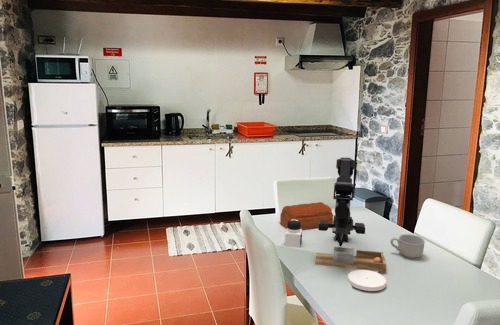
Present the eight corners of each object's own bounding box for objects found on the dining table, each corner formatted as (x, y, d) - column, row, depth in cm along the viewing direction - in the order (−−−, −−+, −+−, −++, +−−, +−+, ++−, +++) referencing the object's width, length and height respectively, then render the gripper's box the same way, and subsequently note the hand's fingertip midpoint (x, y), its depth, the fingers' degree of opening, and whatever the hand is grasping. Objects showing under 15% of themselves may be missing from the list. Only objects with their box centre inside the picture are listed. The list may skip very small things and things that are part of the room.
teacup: (423, 253, 186) (425, 236, 184) (422, 262, 176) (424, 245, 174) (391, 247, 191) (392, 231, 190) (388, 256, 182) (389, 239, 180)
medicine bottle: (300, 249, 189) (301, 224, 186) (284, 247, 190) (285, 222, 188) (301, 243, 195) (302, 219, 193) (286, 241, 197) (287, 217, 194)
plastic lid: (367, 272, 167) (367, 267, 167) (393, 288, 155) (394, 282, 154) (339, 280, 161) (340, 274, 160) (365, 297, 149) (365, 290, 148)
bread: (336, 226, 219) (337, 207, 216) (290, 232, 209) (291, 212, 207) (321, 217, 233) (321, 199, 231) (277, 222, 223) (278, 203, 221)
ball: (373, 262, 174) (373, 255, 173) (380, 263, 173) (380, 256, 173) (373, 265, 171) (374, 258, 170) (381, 266, 170) (381, 259, 170)
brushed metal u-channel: (334, 246, 177) (353, 248, 175) (333, 257, 178) (352, 259, 176) (334, 251, 172) (353, 253, 170) (333, 262, 173) (353, 264, 171)
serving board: (316, 254, 183) (316, 246, 182) (382, 261, 177) (383, 252, 176) (314, 266, 171) (315, 257, 171) (385, 273, 166) (386, 264, 165)
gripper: (318, 215, 165) (316, 251, 168) (367, 218, 161) (364, 256, 164) (319, 206, 175) (318, 241, 178) (365, 209, 172) (363, 245, 175)
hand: (340, 246), depth 174 cm, fingers closed
